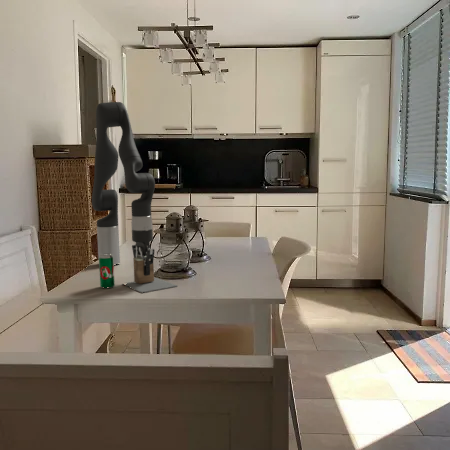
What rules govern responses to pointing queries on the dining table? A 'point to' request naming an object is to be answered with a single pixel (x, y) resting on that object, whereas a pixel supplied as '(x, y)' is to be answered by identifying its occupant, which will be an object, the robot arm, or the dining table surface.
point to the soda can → (106, 270)
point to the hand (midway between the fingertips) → (144, 273)
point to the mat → (151, 285)
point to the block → (142, 271)
